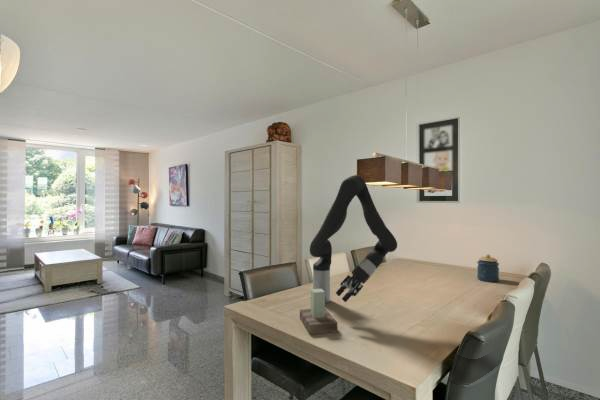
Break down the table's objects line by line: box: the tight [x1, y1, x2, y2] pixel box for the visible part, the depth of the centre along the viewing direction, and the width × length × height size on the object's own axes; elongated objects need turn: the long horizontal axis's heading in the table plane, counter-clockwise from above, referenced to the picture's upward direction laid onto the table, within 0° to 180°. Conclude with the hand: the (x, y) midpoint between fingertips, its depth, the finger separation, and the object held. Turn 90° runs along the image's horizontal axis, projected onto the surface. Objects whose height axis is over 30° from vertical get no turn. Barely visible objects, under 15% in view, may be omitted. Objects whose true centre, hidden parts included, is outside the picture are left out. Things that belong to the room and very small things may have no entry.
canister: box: [476, 254, 500, 283], centre depth 213 cm, size 13×13×18 cm
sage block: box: [310, 288, 326, 318], centre depth 136 cm, size 5×5×11 cm
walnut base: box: [299, 308, 338, 335], centre depth 136 cm, size 18×12×4 cm, turn 12°
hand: (340, 297), depth 138 cm, fingers open, 8 cm apart
